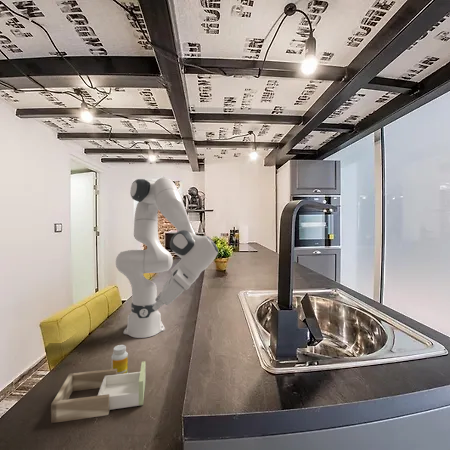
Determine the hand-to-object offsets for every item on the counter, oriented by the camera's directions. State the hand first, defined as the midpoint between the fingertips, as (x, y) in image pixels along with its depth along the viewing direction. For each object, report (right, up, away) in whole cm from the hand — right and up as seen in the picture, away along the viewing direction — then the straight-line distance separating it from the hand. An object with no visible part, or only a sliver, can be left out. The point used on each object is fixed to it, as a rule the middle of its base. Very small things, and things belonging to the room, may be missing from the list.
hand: (155, 304), depth 92 cm
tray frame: (-16, -24, -14) cm, 32 cm away
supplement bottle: (-12, -24, -1) cm, 27 cm away
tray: (-7, -24, -12) cm, 28 cm away
